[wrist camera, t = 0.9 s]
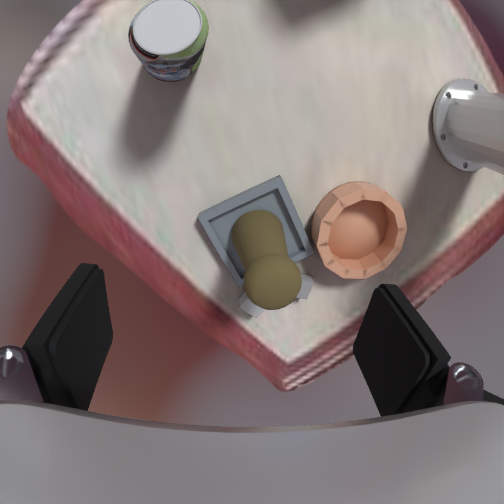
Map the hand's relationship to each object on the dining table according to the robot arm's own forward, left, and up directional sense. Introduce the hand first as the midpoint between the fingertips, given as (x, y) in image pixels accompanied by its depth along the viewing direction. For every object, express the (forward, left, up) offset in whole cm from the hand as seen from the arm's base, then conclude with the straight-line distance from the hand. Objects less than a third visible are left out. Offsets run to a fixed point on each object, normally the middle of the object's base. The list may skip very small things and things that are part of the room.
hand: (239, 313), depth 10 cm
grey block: (0, +17, -26) cm, 31 cm away
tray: (+1, +8, -26) cm, 27 cm away
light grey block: (+5, +16, -26) cm, 31 cm away
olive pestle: (+1, +8, -25) cm, 26 cm away
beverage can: (0, -14, -26) cm, 29 cm away
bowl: (-10, +13, -26) cm, 30 cm away
